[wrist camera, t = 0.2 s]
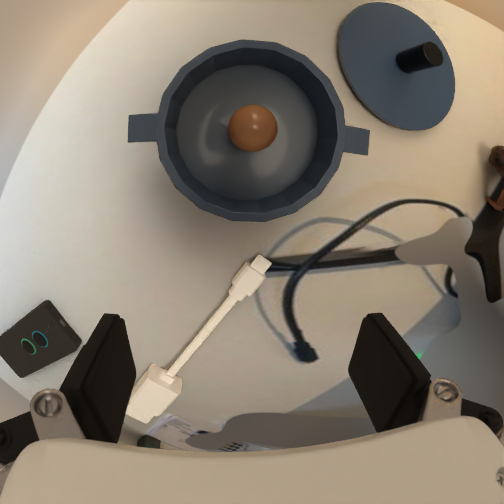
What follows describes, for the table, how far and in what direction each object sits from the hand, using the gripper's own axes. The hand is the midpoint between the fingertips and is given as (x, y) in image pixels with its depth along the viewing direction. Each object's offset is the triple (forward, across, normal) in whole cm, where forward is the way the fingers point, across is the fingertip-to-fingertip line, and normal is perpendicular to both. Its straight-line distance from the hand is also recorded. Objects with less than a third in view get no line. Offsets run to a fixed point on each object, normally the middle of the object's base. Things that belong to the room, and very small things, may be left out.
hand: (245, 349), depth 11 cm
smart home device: (+21, +32, +20) cm, 43 cm away
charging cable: (+21, +6, +18) cm, 29 cm away
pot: (+21, -1, -9) cm, 23 cm away
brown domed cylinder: (+20, -1, -9) cm, 22 cm away
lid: (+20, -18, -20) cm, 34 cm away
